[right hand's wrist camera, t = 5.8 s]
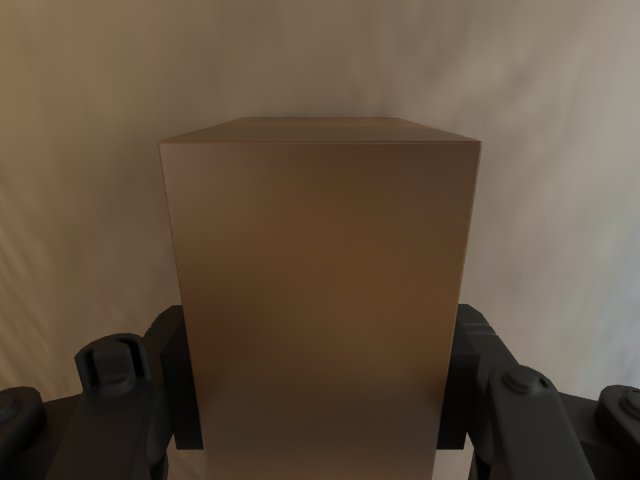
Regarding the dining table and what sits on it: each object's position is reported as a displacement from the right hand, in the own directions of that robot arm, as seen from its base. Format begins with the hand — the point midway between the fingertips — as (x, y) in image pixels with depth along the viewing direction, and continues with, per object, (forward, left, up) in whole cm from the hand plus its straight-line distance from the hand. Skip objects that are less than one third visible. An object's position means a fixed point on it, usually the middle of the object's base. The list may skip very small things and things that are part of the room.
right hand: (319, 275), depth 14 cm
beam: (-2, +21, 0) cm, 21 cm away
